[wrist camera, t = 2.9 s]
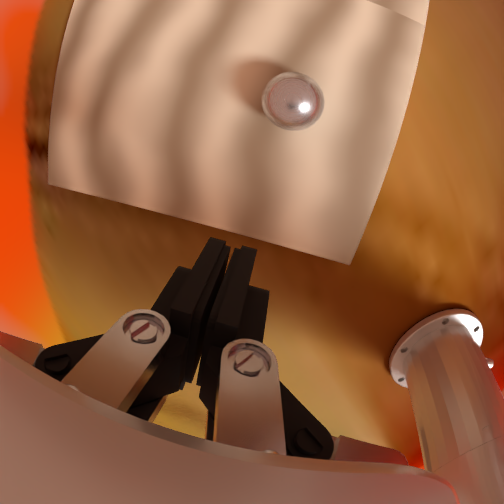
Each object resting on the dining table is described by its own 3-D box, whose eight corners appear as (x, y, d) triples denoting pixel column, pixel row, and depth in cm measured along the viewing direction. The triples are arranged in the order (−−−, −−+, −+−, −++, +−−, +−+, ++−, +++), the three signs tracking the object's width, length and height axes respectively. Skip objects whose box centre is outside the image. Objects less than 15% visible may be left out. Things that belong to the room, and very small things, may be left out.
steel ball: (327, 84, 17) (335, 78, 14) (313, 136, 19) (317, 141, 16) (272, 69, 18) (266, 60, 14) (258, 121, 19) (250, 123, 16)
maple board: (428, -53, 10) (434, -59, 8) (347, 256, 25) (349, 265, 24) (122, -85, 10) (116, -90, 9) (57, 180, 25) (48, 184, 24)
